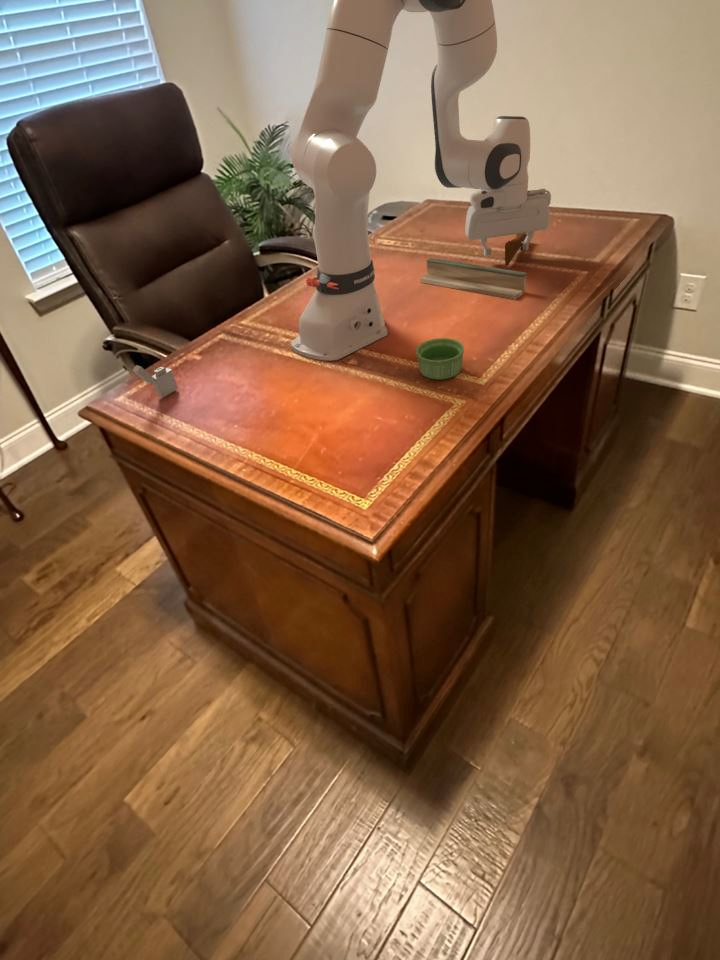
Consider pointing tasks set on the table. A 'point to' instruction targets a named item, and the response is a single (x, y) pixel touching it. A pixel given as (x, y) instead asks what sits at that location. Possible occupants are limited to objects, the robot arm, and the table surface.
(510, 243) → the primitive tool
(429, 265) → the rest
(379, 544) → the table surface
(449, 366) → the ramekin
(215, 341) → the table surface
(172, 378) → the lighter
